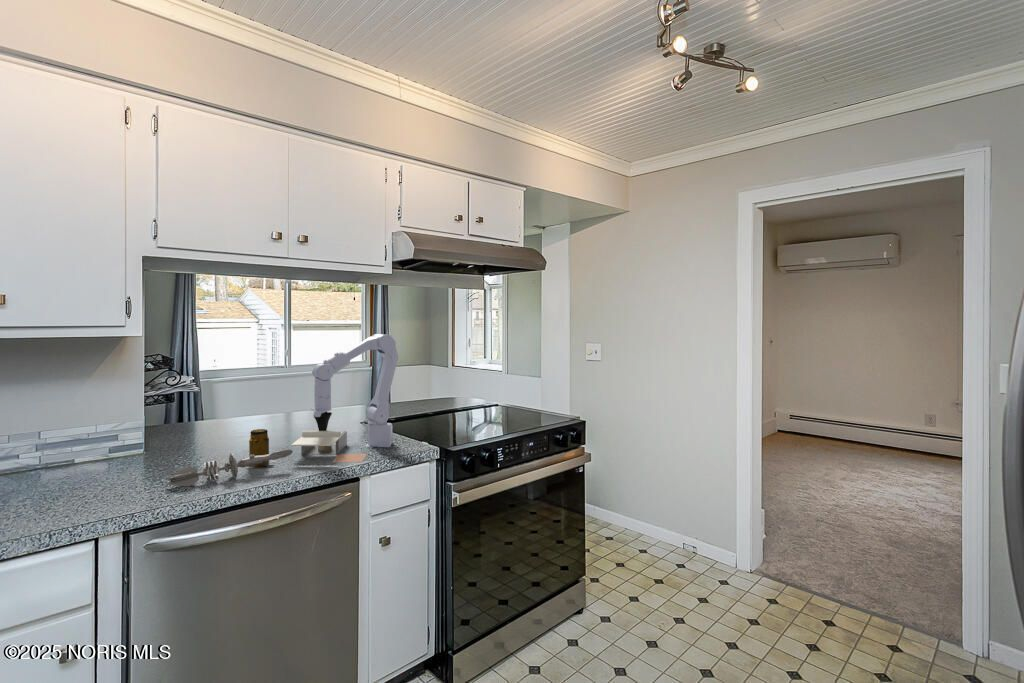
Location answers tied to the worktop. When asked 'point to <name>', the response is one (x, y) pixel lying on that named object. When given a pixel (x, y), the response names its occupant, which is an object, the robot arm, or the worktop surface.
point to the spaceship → (221, 468)
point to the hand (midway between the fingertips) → (322, 432)
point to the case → (334, 450)
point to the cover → (317, 438)
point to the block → (324, 448)
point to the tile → (350, 458)
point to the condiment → (259, 446)
